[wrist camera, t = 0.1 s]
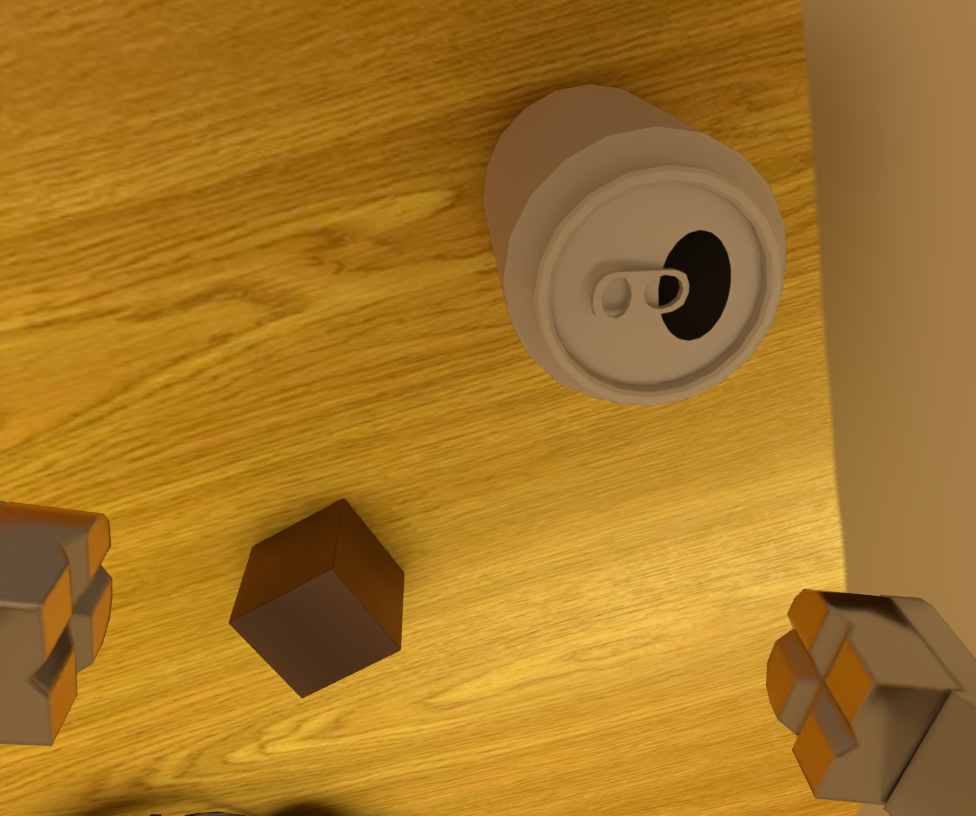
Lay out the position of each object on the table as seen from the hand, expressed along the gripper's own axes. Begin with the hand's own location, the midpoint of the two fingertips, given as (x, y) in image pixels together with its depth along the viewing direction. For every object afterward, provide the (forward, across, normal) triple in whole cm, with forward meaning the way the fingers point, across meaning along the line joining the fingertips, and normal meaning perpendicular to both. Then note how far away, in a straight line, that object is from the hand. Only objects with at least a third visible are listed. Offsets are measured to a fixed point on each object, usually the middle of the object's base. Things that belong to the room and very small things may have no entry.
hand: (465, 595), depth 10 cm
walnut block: (+23, +2, +18) cm, 29 cm away
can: (+23, -5, -1) cm, 24 cm away
